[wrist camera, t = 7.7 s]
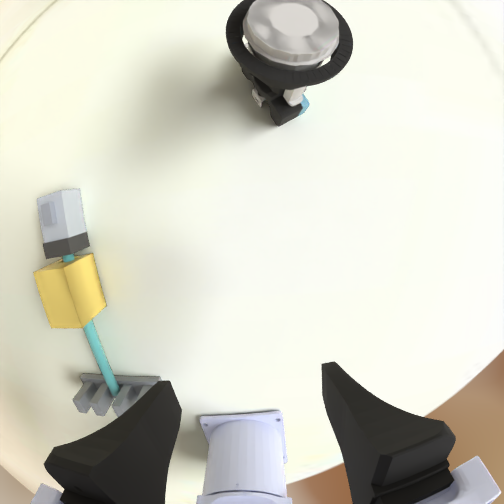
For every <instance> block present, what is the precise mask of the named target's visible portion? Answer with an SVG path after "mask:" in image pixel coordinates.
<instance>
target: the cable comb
mask: <svg viewBox="0 0 504 504" xmlns="http://www.w3.org/2000/svg"><path fill="white" fill-rule="evenodd" d="M114 377H115V379H116V381H117V384H118V386H119V388H120V392H119V393H118V395H117V396H113V395H112V394H111V392H110V390H109V388H108V385H107V383H106V381H105V379H104V377H103V375H99V374H87V373H83V374H82V376H81V377H80V378H81V380H82V382H83V384H84V385H83V386H82V387H81V389H80V390H79V392H78V393H77V394H76V396H75V397H74V398H73V402H74V404H75V405H76V407H77V409H78V410H79V412H81V413H87V412H88V410H89V409H90V407H92V408H93V410H94V412H95V413H96V415H99V416H105V414H106V412H107V410H108V409H109V407H110V405H111V403H112V402H113V400H114V398H116V399H115V400H114V402H113V404H112V405H111V406H112V407H113V409H114V411H115V413H116V415H117V417H119V416H121V415H122V414H123V413H124V412H125V411H127V410H128V409H129V408H130V407H131V406H132V405H134V404H135V403H136V402H137V401H138V400H139V399H140V398H141V397H142V396H143V395H144V394H145V393H146V392H147V391H148V390H149V389H150V388H151V387H152V386H153V385H154V384H156V383H157V382H158V381H161V378H160V377H141V376H115V375H114Z"/></svg>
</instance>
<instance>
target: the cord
mask: <svg viewBox="0 0 504 504" xmlns="http://www.w3.org/2000/svg"><path fill="white" fill-rule="evenodd" d="M62 258H63V262H69V261H72V260H74V259H75V258H74V254H71V255H65V256H62ZM83 328H84V331H85V334H86V336H87V339H88V341H89V344H90V347H91V349H92V352H93V354H94V356H95V359H96V361H97V363H98V366H99V368H100V370H101V373H102V375H103V377H104V379H105V381H106V383H107V385H108V388H109V390H110V392H111V394H112V395H113V396H117V395H118V393H119V392H120V388H119V386H118V384H117V381H116V379H115V377H114V375H113V372H112V370H111V368H110V365H109V363H108V361H107V358H106V356H105V353H104V351H103V348H102V346H101V343H100V340H99V338H98V335H97V332H96V329H95V327H94V324H93V321H92V320H91V321H90V322H88V323H87V324H86V325H85V326H84V327H83Z"/></svg>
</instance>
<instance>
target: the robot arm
mask: <svg viewBox="0 0 504 504" xmlns="http://www.w3.org/2000/svg"><path fill="white" fill-rule="evenodd" d="M322 396H323V400H324V404H325V408H326V412H327V415H328V418H329V420H330V423H331V425H332V428H333V431H334V433H335V436H336V438H337V441H338V443H339V446H340V449H341V452H342V456H343V460H344V464H345V468H346V472H347V477H348V482H349V486H350V491H351V497H352V502H353V504H490V503H492V501H494V500H495V499H496V498H497V497H498V496H499V495H500V494H501V491H500V489H499V487H498V486H497V484H496V483H495V481H494V479H493V478H492V476H491V475H490V473H489V472H488V470H487V468H486V467H485V465H484V464H483V462H482V461H481V460H480V458H479V456H475V457H474V458H473V459H471V460H469V461H467V462H466V463H464V464H462V465H460V466H458V467H457V468H455V469H454V470H453V471H452V472H451V473H450V471H449V470H448V467H449V462H448V461H447V457H448V455H449V453H450V451H451V450H452V448H453V446H454V443H455V441H456V438H455V435H454V434H453V433H452V431H451V430H450V428H449V427H448V426H447V425H446V424H445V423H444V421H439V420H434V419H429V418H425V417H421V416H418V415H414V414H411V413H408V412H406V411H403V410H401V409H398V408H396V407H394V406H392V405H390V404H388V403H386V402H384V401H383V400H381V399H379V398H378V397H376V396H375V395H373V394H372V393H370V392H369V391H367V390H366V389H365V388H363V387H362V386H361V385H360V384H359V383H357V382H356V381H355V380H354V379H353V378H351V377H350V376H349V375H348V374H347V373H346V372H345V371H344V370H343V369H342V368H341V367H340V366H339V365H338V364H337V363H336V362H329V363H324V364H322ZM181 412H182V409H181V407H180V405H179V402H178V400H177V397H176V395H175V392H174V390H173V387H172V385H171V382H170V381H158V382H157V383H156V384H154V385H153V386H152V387H151V388H150V389H149V390H148V391H147V392H146V393H145V394H144V395H143V396H142V397H141V398H140V399H139V400H138V401H137V402H136V403H135V404H134V405H132V406H131V407H130V408H129V409H128V410H127V411H125V412H124V413H123V414H122V415H121V416H119V417H118V418H117V419H115V420H114V421H113V422H111V423H110V424H108V425H107V426H105V427H103V428H102V429H100V430H98V431H96V432H94V433H92V434H90V435H88V436H86V437H84V438H82V439H79V440H77V441H74V442H71V443H68V444H64V445H61V446H57V447H54V448H53V450H52V451H51V453H50V455H49V456H48V458H47V459H46V461H45V463H44V466H45V468H46V470H47V472H48V473H49V474H50V475H51V476H52V477H53V478H54V479H55V480H56V481H57V482H58V483H59V484H60V485H61V486H62V487H63V488H64V489H65V490H64V492H63V493H61V492H60V491H58V490H56V489H54V488H52V487H50V486H47V485H45V484H43V483H41V485H40V487H39V488H38V490H37V492H36V494H35V496H34V498H33V500H32V501H31V503H30V504H165V492H166V482H167V474H168V467H169V463H170V459H171V455H172V452H173V448H174V445H175V441H176V438H177V434H178V431H179V427H180V421H181ZM277 418H279V419H277ZM199 421H200V424H201V427H202V429H203V432H204V434H205V437H206V439H207V442H208V444H209V451H208V458H207V465H206V472H205V479H204V486H203V493H202V495H198V496H197V502H196V504H292V498H290V497H289V498H287V490H286V480H285V470H284V464H285V463H287V451H286V441H285V432H284V422H283V414H282V412H281V411H272V412H263V413H252V414H239V415H220V416H201V417H200V420H199ZM205 423H207V424H205Z"/></svg>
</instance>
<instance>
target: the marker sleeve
mask: <svg viewBox="0 0 504 504" xmlns="http://www.w3.org/2000/svg"><path fill="white" fill-rule="evenodd" d="M74 258H75V259H74V260H72V261H69V262H63V259H61V260H58V261H56V262H54V263H52V264H50V265H48V266H46V267H44V268H41V269H39V270H37V271H35V272H33V273H34V277H35V280H36V284H37V287H38V291H39V294H40V297H41V300H42V303H43V306H44V309H45V312H46V315H47V318H48V321H49V323H50V326H51V328H83V327H84V326H85V325H86V324H87V323H88V322H90V321H91V320H92V319H93V318H94V317H95V316H96V315H97V314H98V313H99V312H100V311H101V310H103V309H104V308H105V307H106V306H107V305H106V302H105V298H104V295H103V291H102V287H101V284H100V280H99V276H98V272H97V268H96V264H95V260H94V256H93V253H91V254H85V255H79V256H74Z"/></svg>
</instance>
